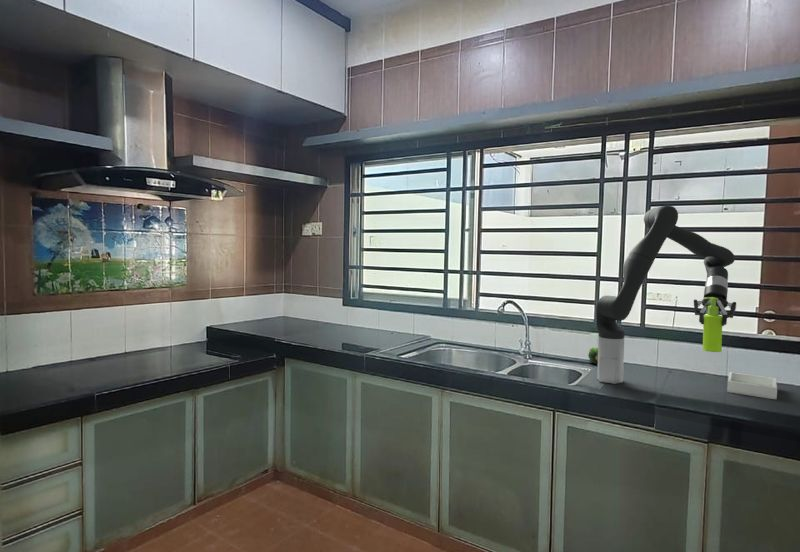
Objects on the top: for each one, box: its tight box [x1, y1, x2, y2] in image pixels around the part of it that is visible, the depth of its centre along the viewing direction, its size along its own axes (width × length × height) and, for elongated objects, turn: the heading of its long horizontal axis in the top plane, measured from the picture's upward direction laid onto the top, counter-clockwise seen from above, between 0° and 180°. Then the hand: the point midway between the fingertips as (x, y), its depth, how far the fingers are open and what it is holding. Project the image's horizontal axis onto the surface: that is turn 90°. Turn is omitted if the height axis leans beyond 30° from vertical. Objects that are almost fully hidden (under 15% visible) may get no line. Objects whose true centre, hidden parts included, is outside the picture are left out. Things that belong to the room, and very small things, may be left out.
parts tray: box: [726, 371, 778, 400], centre depth 172 cm, size 16×14×4 cm
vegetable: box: [587, 347, 598, 365], centre depth 218 cm, size 7×7×20 cm
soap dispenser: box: [702, 297, 723, 353], centre depth 177 cm, size 6×7×20 cm
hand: (712, 323), depth 176 cm, fingers closed on soap dispenser, 6 cm apart
